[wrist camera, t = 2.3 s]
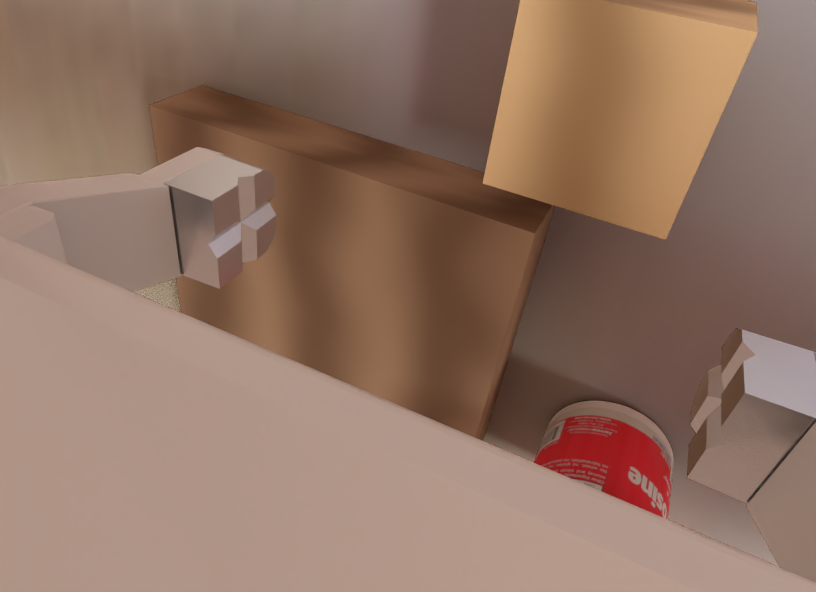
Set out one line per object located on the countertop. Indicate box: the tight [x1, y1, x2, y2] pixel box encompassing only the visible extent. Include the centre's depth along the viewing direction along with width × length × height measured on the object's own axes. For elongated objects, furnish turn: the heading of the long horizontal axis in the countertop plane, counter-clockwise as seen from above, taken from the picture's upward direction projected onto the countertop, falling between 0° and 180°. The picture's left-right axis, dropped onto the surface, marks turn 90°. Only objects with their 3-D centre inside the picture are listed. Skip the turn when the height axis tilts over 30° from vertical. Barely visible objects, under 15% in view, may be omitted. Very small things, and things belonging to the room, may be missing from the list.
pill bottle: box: [534, 401, 674, 520], centre depth 26 cm, size 6×6×11 cm
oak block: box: [483, 0, 758, 240], centre depth 19 cm, size 6×6×5 cm
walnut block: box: [149, 85, 555, 441], centre depth 31 cm, size 18×18×4 cm
